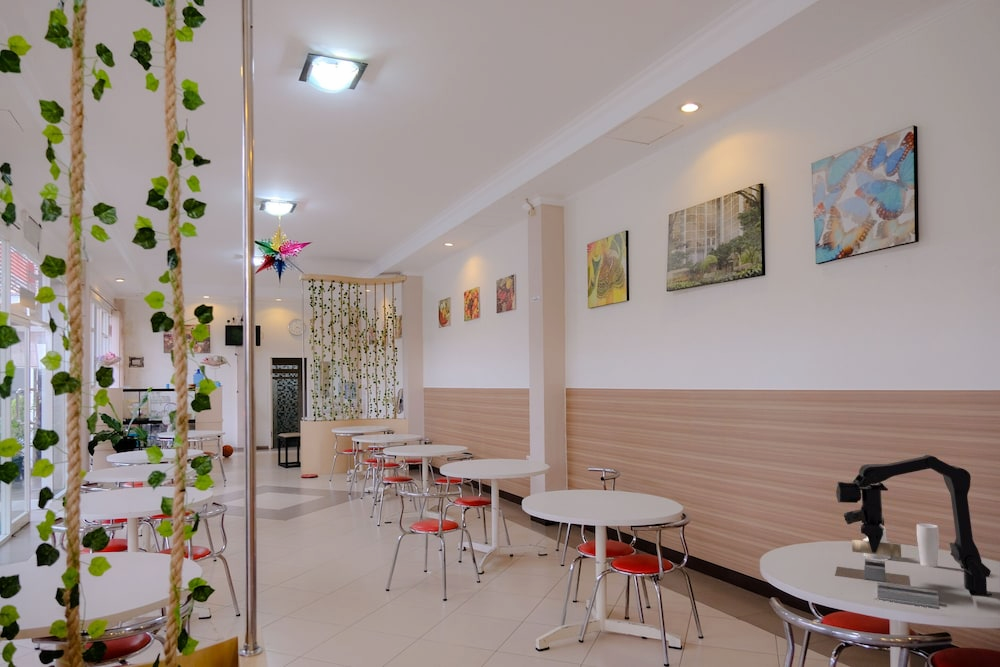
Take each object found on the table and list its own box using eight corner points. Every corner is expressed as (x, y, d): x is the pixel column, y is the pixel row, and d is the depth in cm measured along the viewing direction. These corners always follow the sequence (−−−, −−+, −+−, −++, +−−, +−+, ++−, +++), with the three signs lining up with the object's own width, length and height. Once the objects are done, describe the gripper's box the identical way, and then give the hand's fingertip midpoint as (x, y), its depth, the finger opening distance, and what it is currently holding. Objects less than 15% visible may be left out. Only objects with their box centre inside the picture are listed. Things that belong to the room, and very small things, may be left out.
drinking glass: (944, 570, 236) (942, 527, 237) (925, 570, 236) (923, 527, 237) (932, 564, 243) (931, 523, 244) (913, 564, 243) (912, 523, 244)
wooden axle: (901, 555, 218) (900, 543, 219) (901, 558, 215) (900, 546, 215) (853, 550, 226) (852, 538, 226) (852, 553, 222) (851, 541, 222)
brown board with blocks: (909, 578, 227) (908, 563, 227) (910, 588, 216) (909, 573, 217) (837, 569, 238) (836, 555, 238) (834, 578, 227) (834, 563, 228)
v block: (937, 600, 206) (936, 590, 206) (939, 609, 198) (939, 599, 198) (877, 591, 214) (877, 582, 214) (877, 600, 206) (877, 590, 206)
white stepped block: (895, 560, 249) (894, 527, 250) (871, 560, 249) (870, 527, 250) (882, 553, 258) (881, 522, 259) (858, 553, 258) (857, 522, 259)
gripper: (846, 496, 234) (848, 541, 233) (842, 506, 218) (844, 554, 217) (883, 499, 228) (885, 545, 227) (881, 509, 212) (884, 559, 211)
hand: (874, 550), depth 221 cm, fingers closed on wooden axle, 4 cm apart
